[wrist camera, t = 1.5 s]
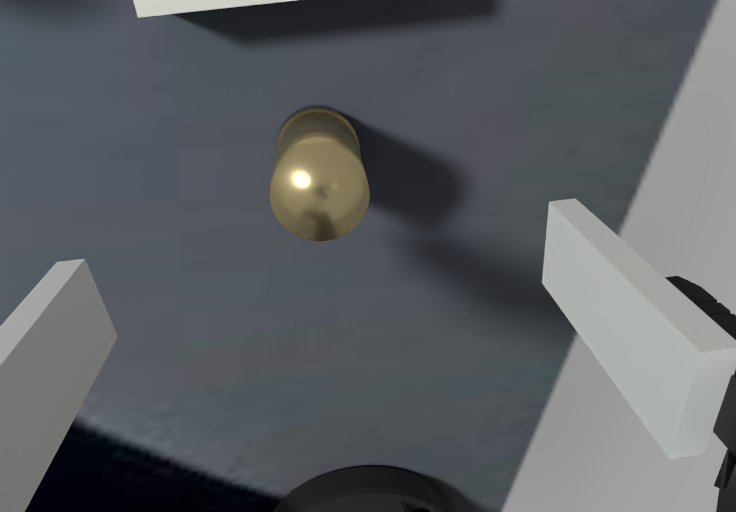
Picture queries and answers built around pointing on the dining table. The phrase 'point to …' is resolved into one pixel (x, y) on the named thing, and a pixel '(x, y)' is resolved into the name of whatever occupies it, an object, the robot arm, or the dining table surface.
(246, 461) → the dining table surface
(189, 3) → the block
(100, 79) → the dining table surface
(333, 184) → the cylinder
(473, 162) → the dining table surface
